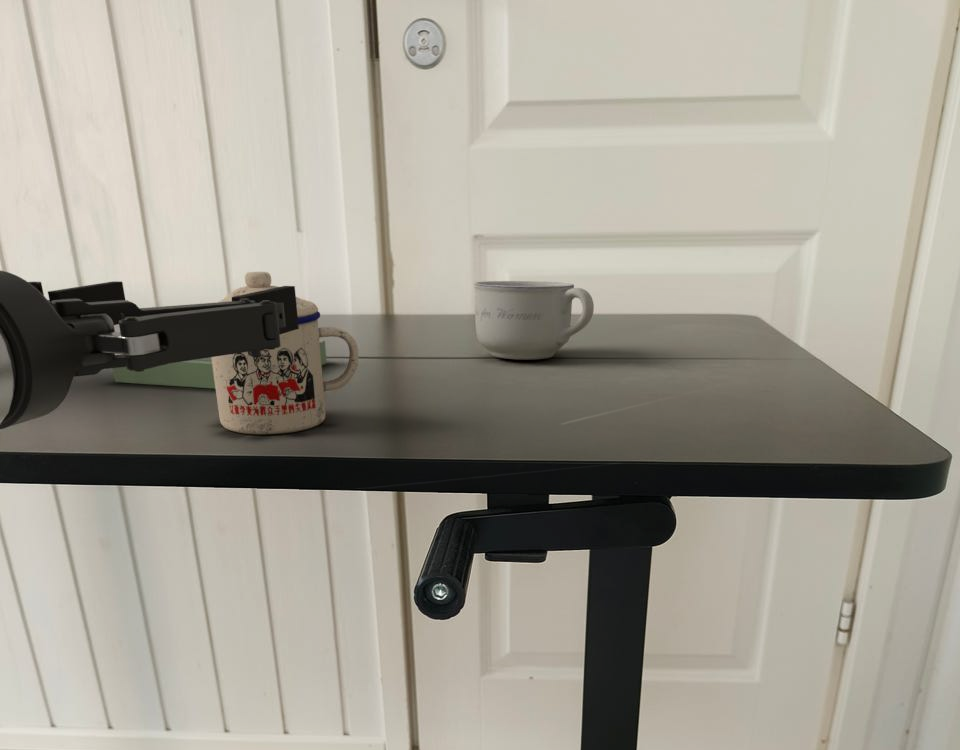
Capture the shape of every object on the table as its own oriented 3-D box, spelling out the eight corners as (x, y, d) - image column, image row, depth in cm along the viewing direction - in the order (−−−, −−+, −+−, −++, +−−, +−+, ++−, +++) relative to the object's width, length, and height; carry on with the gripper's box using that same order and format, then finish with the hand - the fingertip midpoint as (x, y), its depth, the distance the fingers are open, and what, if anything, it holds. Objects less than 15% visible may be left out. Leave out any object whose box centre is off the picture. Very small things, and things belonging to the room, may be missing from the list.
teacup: (455, 356, 102) (453, 280, 99) (524, 345, 109) (525, 273, 105) (543, 374, 93) (545, 291, 89) (613, 361, 99) (618, 282, 96)
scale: (115, 382, 92) (109, 349, 90) (200, 356, 104) (196, 326, 103) (255, 391, 87) (251, 356, 86) (327, 363, 100) (324, 332, 98)
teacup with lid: (220, 440, 71) (198, 280, 66) (215, 414, 79) (195, 269, 73) (372, 428, 74) (362, 274, 69) (353, 404, 82) (343, 264, 77)
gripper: (-201, 417, 50) (67, 352, 68) (188, 450, 43) (373, 369, 61) (-252, 271, 47) (44, 243, 65) (161, 281, 40) (365, 247, 58)
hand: (204, 304), depth 63 cm, fingers open, 13 cm apart
